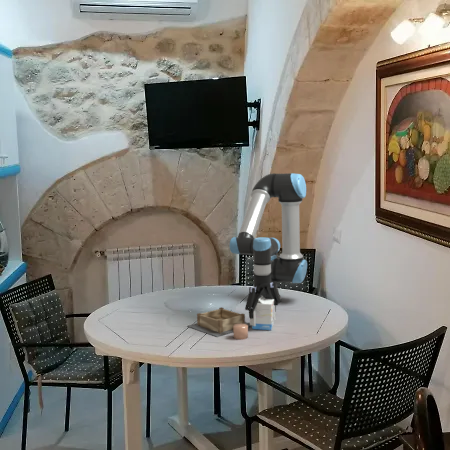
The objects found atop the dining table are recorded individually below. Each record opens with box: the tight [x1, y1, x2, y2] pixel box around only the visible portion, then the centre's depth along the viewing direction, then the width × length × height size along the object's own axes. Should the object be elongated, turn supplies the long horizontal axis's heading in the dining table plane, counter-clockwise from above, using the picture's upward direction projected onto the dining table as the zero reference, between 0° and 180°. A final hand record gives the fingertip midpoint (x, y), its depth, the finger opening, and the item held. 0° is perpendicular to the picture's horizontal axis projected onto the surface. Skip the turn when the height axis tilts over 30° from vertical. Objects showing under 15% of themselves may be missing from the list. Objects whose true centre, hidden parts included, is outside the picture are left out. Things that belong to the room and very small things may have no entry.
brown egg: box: [232, 324, 249, 340], centre depth 252 cm, size 6×6×5 cm
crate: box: [186, 307, 252, 338], centre depth 267 cm, size 22×20×6 cm
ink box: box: [251, 296, 274, 331], centre depth 263 cm, size 9×8×13 cm
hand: (262, 322), depth 264 cm, fingers closed on ink box, 11 cm apart
